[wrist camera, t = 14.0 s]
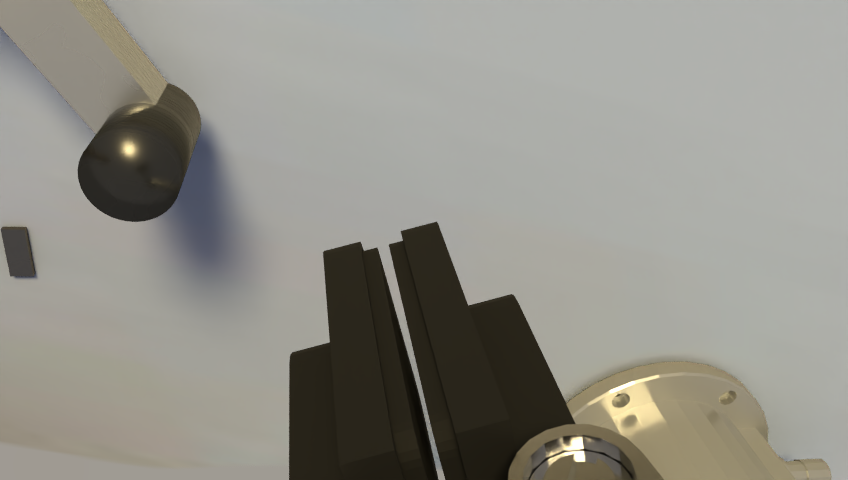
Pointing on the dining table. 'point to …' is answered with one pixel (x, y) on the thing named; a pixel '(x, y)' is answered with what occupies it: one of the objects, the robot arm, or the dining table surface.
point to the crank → (110, 103)
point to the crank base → (18, 251)
